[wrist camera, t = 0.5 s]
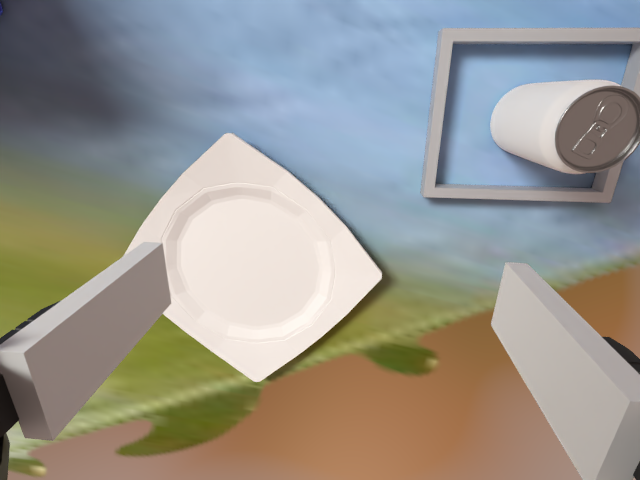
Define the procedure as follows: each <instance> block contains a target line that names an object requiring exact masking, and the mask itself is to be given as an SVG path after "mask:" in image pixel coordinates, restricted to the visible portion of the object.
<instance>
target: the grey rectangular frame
mask: <svg viewBox="0 0 640 480" xmlns="http://www.w3.org/2000/svg"><path fill="white" fill-rule="evenodd" d="M453 44H633V45H632V49H631V52H630V56H629V59H628V63H627V66H626V70H625V73H624V77H623V80H622V84H621V86H622V87H625V88H628V89H630V90H632V91H633V92H635V93H636V94H637V95H638V96H639V97H640V28H443V29H441V30H440V31H439V32H438V40H437V49H436V57H435V66H434V75H433V84H432V93H431V102H430V111H429V120H428V129H427V138H426V147H425V156H424V165H423V173H422V182H421V191H420V193H421V194H422V196H423V197H435V198H468V199H501V200H534V201H567V202H600V203H611V200H612V197H613V193H614V190H615V187H616V184H617V181H618V177H619V174H620V171H621V168H622V164H623V162H621V163H620V164H618V165H616V166H615V167H613V168H610V169H608V170H605V171H601V172H596V175H595V178H594V182H593V185H592V188H568V187H532V186H496V185H460V184H435V181H436V173H437V165H438V157H439V149H440V141H441V133H442V125H443V117H444V109H445V101H446V93H447V85H448V77H449V70H450V62H451V54H452V46H453Z"/></svg>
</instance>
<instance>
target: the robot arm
mask: <svg viewBox="0 0 640 480" xmlns="http://www.w3.org/2000/svg"><path fill="white" fill-rule="evenodd" d="M170 304H171V297H170V290H169V283H168V277H167V270H166V263H165V256H164V249H163V243H156V242H143V243H142V244H140V245H139V246H137V247H136V248H135V249H133V250H132V251H130V252H129V253H128V254H126V255H125V256H123V257H122V258H121V259H119V260H118V261H116V262H115V263H114V264H112V265H111V266H109V267H108V268H107V269H105V270H104V271H102V272H101V273H100V274H98V275H97V276H95V277H94V278H93V279H91V280H90V281H88V282H87V283H86V284H84V285H83V286H81V287H80V288H79V289H77V290H76V291H74V292H73V293H72V294H70V295H69V296H67V297H66V298H65V299H63V300H62V301H59V302H57V303H55V304H52V305H50V306H48V307H46V308H43V309H41V310H40V311H39V312H37V313H36V314H34V315H33V316H31V317H30V318H29V319H28V320H27V321H24V322H23V323H21V324H20V325H19V326H17V327H16V329H15V330H11V331H10V332H8V333H7V334H6V335H4V336H3V337H1V338H0V480H7V475H8V462H9V447H10V443H9V440H8V437H7V434H6V432H7V431H8V430H9V429H10V428H11V427H12V426H13V425H14V424H15V423H16V422H17V421H19V424H20V426H21V429H22V432H23V434H24V437H25V438H31V439H41V440H52V441H53V440H54V439H55V438H56V437H57V436H58V434H59V433H60V432H61V431H62V430H63V429H64V427H65V426H66V425H67V424H68V423H69V422H70V420H71V419H72V418H73V417H74V416H75V415H76V413H77V412H78V411H79V410H80V409H81V408H82V406H83V405H84V404H85V403H86V402H87V401H88V400H89V398H90V397H91V396H92V395H93V394H94V393H95V391H96V390H97V389H98V388H99V387H100V386H101V384H102V383H103V382H104V381H105V380H106V379H107V377H108V376H109V375H110V374H111V373H112V372H113V370H114V369H115V368H116V367H117V366H118V365H119V364H120V362H121V361H122V360H123V359H124V358H125V357H126V355H127V354H128V353H129V352H130V351H131V350H132V348H133V347H134V346H135V345H136V344H137V343H138V341H139V340H140V339H141V338H142V337H143V336H144V334H145V333H146V332H147V331H148V330H149V329H150V328H151V326H152V325H153V324H154V323H155V322H156V321H157V319H158V318H159V317H160V316H161V315H162V314H163V312H164V311H165V310H166V309H167V308H168V307H169V305H170ZM491 326H492V327H493V329H494V331H495V333H496V334H497V336H498V338H499V339H500V341H501V343H502V344H503V346H504V348H505V350H506V351H507V353H508V355H509V356H510V358H511V360H512V361H513V363H514V365H515V367H516V368H517V370H518V372H519V373H520V375H521V377H522V378H523V380H524V382H525V383H526V385H527V387H528V388H529V390H530V392H531V394H532V395H533V397H534V399H535V400H536V402H537V404H538V405H539V407H540V409H541V410H542V412H543V414H544V416H545V417H546V419H547V420H548V422H549V424H550V426H551V427H552V429H553V431H554V432H555V434H556V436H557V437H558V439H559V441H560V443H561V444H562V446H563V448H564V449H565V451H566V453H567V454H568V456H569V458H570V460H571V461H572V463H573V465H574V466H575V468H576V470H577V471H578V473H579V475H580V476H581V478H582V480H633V478H634V477H635V479H636V480H640V359H639V358H638V357H637V356H636V355H635V354H634V353H633V352H632V351H630V350H629V349H628V348H626V347H625V346H623V345H621V344H620V343H618V342H616V341H615V340H613V339H611V338H610V337H601V336H600V335H599V334H598V333H597V332H596V331H595V330H594V329H593V328H592V327H591V326H590V325H589V324H588V323H587V322H586V321H585V320H584V319H583V318H582V317H581V316H580V315H579V314H578V313H577V312H576V311H575V310H574V309H573V308H572V307H571V306H570V305H569V304H568V303H567V302H565V300H564V299H563V298H562V297H560V295H559V294H558V293H557V292H556V291H554V290H553V289H552V288H551V287H550V286H549V285H548V284H547V283H546V282H545V281H544V280H543V279H542V278H541V277H540V276H539V275H538V274H537V273H536V272H535V271H534V270H533V269H532V268H531V267H530V266H529V265H528V264H527V263H510V262H506V263H505V267H504V271H503V276H502V280H501V284H500V288H499V293H498V297H497V301H496V305H495V310H494V314H493V318H492V322H491Z"/></svg>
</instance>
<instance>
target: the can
mask: <svg viewBox="0 0 640 480" xmlns="http://www.w3.org/2000/svg"><path fill="white" fill-rule="evenodd" d="M490 128H491V134H492V137H493V139H494V141H495V142H496V144H497V145H498V146H499V147H500V148H502V149H503V150H505V151H507V152H509V153H511V154H514V155H516V156H519V157H522V158H524V159H527V160H530V161H532V162H535V163H538V164H540V165H543V166H546V167H549V168H551V169H554V170H557V171H560V172H564V173H569V174H584V173H596V172H601V171H605V170H608V169H610V168H613V167H615V166H616V165H618V164H620V163H621V162H623V161H624V160H625V159H626V158H628V157H629V156H630V155H631V154H632V153H633V152H634V150H635V149H636V148H637V146H638V145H639V143H640V97H639V96H638V95H637V94H636V93H635V92H633V91H632V90H630V89H628V88H625V87H622V86H621V85H619V84H617V83H614V82H611V81H607V80H576V81H559V82H544V83H531V84H525V85H521V86H518V87H516V88H514V89H512V90H511V91H509V92H508V93H506V94H505V95H504V96H503V97H502V98H501V99H500V101H499V102H498V103H497V105H496V107H495V108H494V111H493V113H492V117H491V122H490Z"/></svg>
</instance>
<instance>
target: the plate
mask: <svg viewBox="0 0 640 480" xmlns="http://www.w3.org/2000/svg"><path fill="white" fill-rule="evenodd" d="M143 242H156V243H163V249H164V256H165V263H166V270H167V277H168V283H169V290H170V297H171V304H170V305H169V307H168V308H167V309H166V310H165V311H164V312H163V314H164V315H165V316H166V317H167V318H169V319H170V320H171V321H172V322H174V323H175V324H176V325H177V326H179V327H180V328H181V329H182V330H184V331H185V332H186V333H188V334H189V335H190V336H192V337H193V338H194V339H196V340H197V341H198V342H200V343H201V344H203V345H204V346H205V347H207V348H208V349H209V350H211V351H212V352H213V353H215V354H216V355H218V356H219V357H220V358H222V359H223V360H225V361H226V362H227V363H229V364H230V365H232V366H233V367H234V368H236V369H237V370H239V371H240V372H241V373H243V374H244V375H246V376H247V377H248V378H250V379H251V380H253V381H254V382H260V381H261V380H263V379H264V378H266V377H267V376H268V375H270V374H271V373H273V372H274V371H276V370H277V369H279V368H280V367H282V366H283V365H284V364H286V363H287V362H289V361H290V360H292V359H293V358H295V357H296V356H298V355H299V354H300V353H302V352H303V351H304V350H305V349H307V348H308V347H309V346H311V345H312V344H313V343H314V342H316V341H317V340H318V339H320V338H321V337H322V336H323V335H324V334H326V333H327V332H328V331H329V330H330V329H331V328H332V327H333V326H335V325H336V324H337V323H338V322H339V321H340V320H341V319H342V318H344V317H345V316H346V315H347V314H348V313H349V312H350V311H351V310H352V309H353V308H354V307H355V306H356V304H357V303H358V302H359V301H360V300H361V299H362V298H363V297H364V296H365V295H366V294H367V293H368V292H369V291H370V290H371V289H372V288H373V287H374V286H375V285H376V284H377V283H378V282H379V281H380V280H381V279H382V271H381V270H380V269H379V267H378V266H377V265H376V264H375V262H374V261H373V260H372V258H371V257H370V256H369V255H368V253H367V252H366V251H365V249H364V248H363V247H362V246H361V244H360V243H359V242H358V240H357V239H356V238H355V236H354V235H353V234H352V233H351V231H350V230H349V229H348V227H347V226H346V225H345V224H344V223H343V222H342V221H341V220H340V219H339V218H338V217H337V216H336V215H335V213H334V212H333V211H332V210H331V209H330V208H329V207H328V206H327V205H326V204H325V203H324V202H323V201H322V200H321V199H320V198H319V197H318V196H317V195H316V194H315V193H313V192H312V191H311V190H310V189H309V188H308V187H306V186H305V185H304V184H303V183H302V182H300V181H299V180H298V179H297V178H296V177H295V176H293V175H292V174H291V173H290V172H289V171H287V170H286V169H285V168H283V167H282V166H280V165H279V164H277V163H276V162H274V161H273V160H271V159H270V158H268V157H267V156H266V155H264V154H263V153H261V152H260V151H258V150H257V149H255V148H254V147H252V146H251V145H250V144H248V143H247V142H245V141H244V140H242V139H241V138H239V137H238V136H236V135H235V134H234V133H225V134H224V135H223V136H222V137H221V138H220V139H219V140H218V141H217V142H216V143H215V144H214V145H213V146H211V147H210V148H209V149H208V150H207V151H206V152H205V153H204V154H203V155H202V156H201V157H200V158H199V159H198V160H196V161H195V162H194V163H193V164H192V165H191V166H190V167H189V168H188V169H187V170H186V171H185V172H184V173H183V174H182V175H181V176H180V177H179V178H178V179H177V181H176V182H175V183H174V184H173V185H172V186H171V188H170V189H169V190H168V191H167V192H166V193H165V194H164V196H163V197H162V198H161V199H160V201H159V202H158V203H157V205H156V206H155V207H154V209H153V210H152V212H151V213H150V214H149V216H148V217H147V218H146V220H145V221H144V223H143V224H142V225H141V227H140V229H139V230H138V232H137V234H136V235H135V237H134V239H133V241H132V242H131V244H130V246H129V247H128V249H127V251H126V253H125V254H124V256H125V255H126V254H128V253H129V252H130V251H132V250H133V249H135V248H136V247H137V246H139V245H140V244H142V243H143Z"/></svg>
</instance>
